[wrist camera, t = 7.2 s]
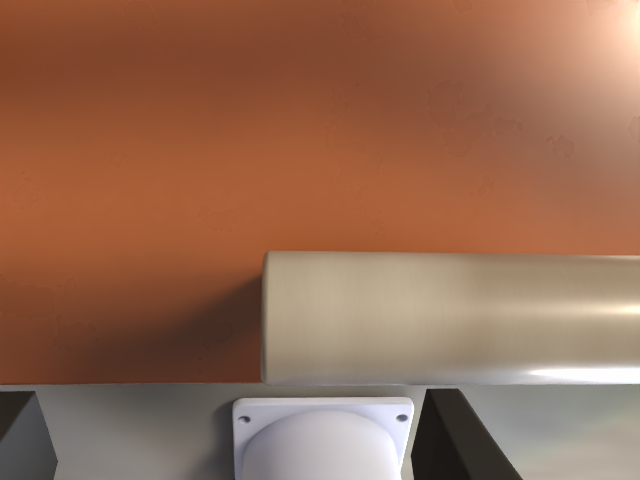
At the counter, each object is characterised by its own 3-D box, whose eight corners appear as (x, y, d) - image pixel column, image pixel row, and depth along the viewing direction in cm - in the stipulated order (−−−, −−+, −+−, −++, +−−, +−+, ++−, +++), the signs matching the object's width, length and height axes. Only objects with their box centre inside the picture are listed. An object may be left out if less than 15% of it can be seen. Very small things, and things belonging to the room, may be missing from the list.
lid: (766, 373, 12) (1108, 479, 7) (-27, 375, 10) (-282, 508, 6) (789, -143, 11) (1166, -407, 7) (-28, -206, 10) (-300, -593, 5)
